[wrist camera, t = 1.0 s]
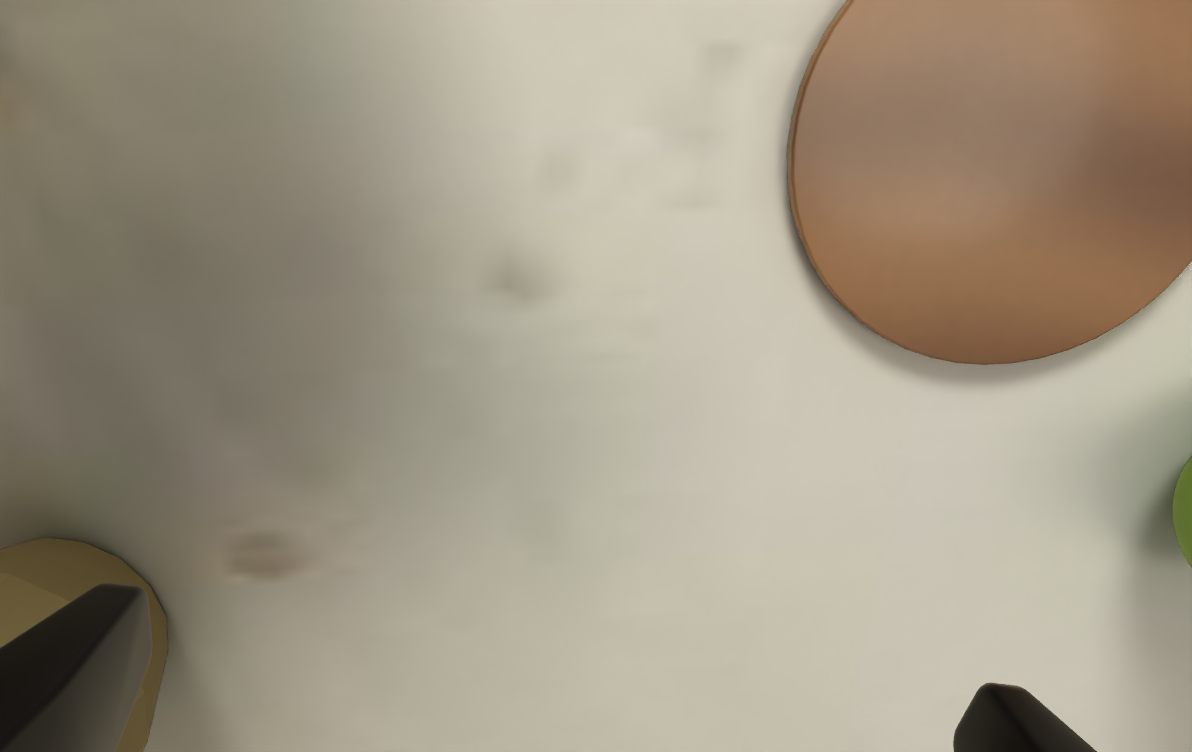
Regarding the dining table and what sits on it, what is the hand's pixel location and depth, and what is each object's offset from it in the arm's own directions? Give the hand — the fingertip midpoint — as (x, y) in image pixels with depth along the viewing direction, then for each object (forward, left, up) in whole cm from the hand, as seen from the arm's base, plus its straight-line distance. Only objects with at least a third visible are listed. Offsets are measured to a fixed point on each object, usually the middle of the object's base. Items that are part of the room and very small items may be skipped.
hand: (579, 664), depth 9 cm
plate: (+4, -10, -15) cm, 18 cm away
